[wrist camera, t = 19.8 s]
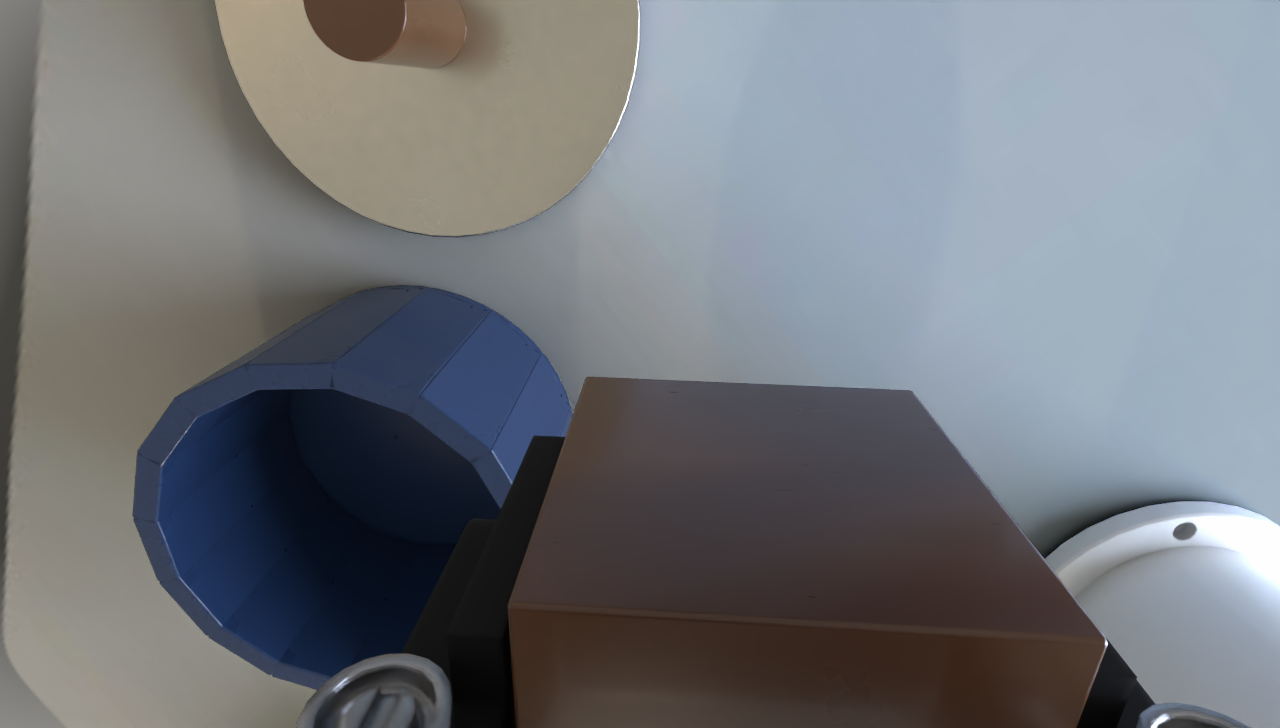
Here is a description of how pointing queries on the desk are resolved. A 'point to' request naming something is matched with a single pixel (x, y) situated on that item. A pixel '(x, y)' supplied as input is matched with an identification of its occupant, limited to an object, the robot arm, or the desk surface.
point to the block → (783, 572)
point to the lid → (437, 100)
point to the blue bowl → (339, 474)
